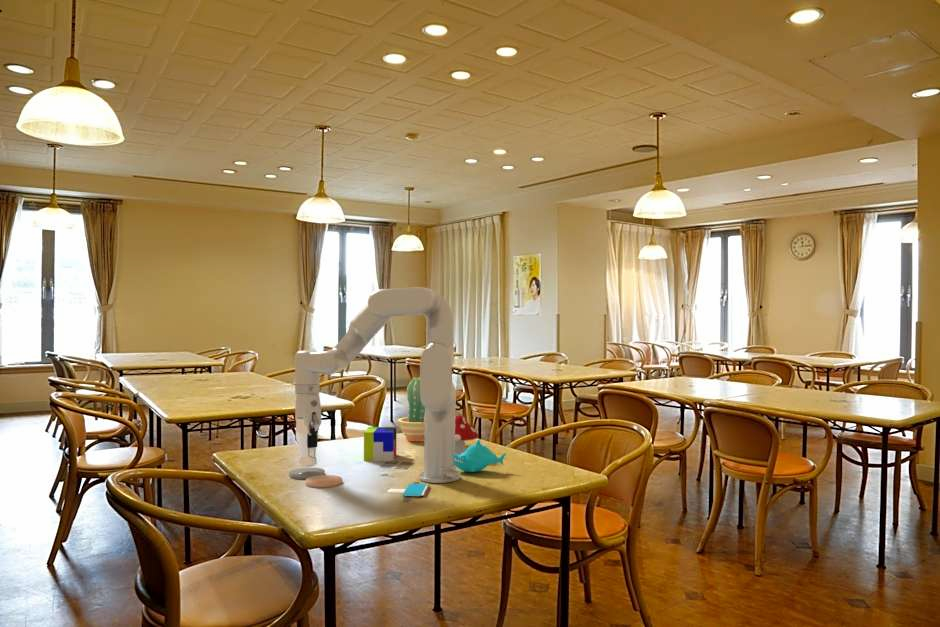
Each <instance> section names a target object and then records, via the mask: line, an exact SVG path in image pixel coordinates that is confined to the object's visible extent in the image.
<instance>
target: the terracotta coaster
mask: <svg viewBox="0 0 940 627" xmlns="http://www.w3.org/2000/svg"><path fill="white" fill-rule="evenodd" d="M304 480H305V481H304V485H305V486H306V487H308V488H316V489H318V488H319V489H325V488H333V487H337V486H340V485H342V484H343V477H342V476H339V475H333V474H325V475H319V476H313V477H309V478H307V479H304Z"/></svg>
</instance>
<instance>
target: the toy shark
mask: <svg viewBox="0 0 940 627" xmlns="http://www.w3.org/2000/svg"><path fill="white" fill-rule="evenodd" d="M505 456H507V452H504V453H502V455H501V456H500V457H498V456H497V454H496V453H493V452H492V451H491V449H489V448H488V447H487V446H486V445H484V444H482V443H481V440H480V438H478V439H477V441H476V443H475V444H471V445H470V446H469V447H466V451H465V452H464V453H461V455H457V454H455V465H456V469H459V470H461V471H463V472H466V473H476V472H480V471H482V470H484V469H486V468H487V467H489V466H490V465H493V464H494V465H497V464H498V463H500V464H501V465H502V466H503V465H505V464H504V458H505Z"/></svg>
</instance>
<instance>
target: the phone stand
mask: <svg viewBox="0 0 940 627" xmlns="http://www.w3.org/2000/svg"><path fill="white" fill-rule="evenodd" d="M429 488H430V483H428V484H427V483H420V481H414V482H413V483H409V484H408V485H407V487H406V488H389V489H388V490H387V492H386V493H387V494H401V496H404V498H402V502H409V501H410V499H414V498H416V497H422V496H423V497H425V496H426V494H427V493H428V491H429Z"/></svg>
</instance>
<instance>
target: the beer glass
mask: <svg viewBox="0 0 940 627" xmlns="http://www.w3.org/2000/svg"><path fill="white" fill-rule="evenodd" d="M310 425H314V423H313V422H311V423H310ZM310 428H311V430H312V428H313V427H310ZM307 435H309V434H308V429H307V426H305V424H304V419H299V418H298V417H297V421H296V420H295V438H296V445H297V451H298V458H297V466H298V467H300V468H310V467H314V466H316V465H317V464H318V460H317V456H316V455H317V454H316V453H317V452H316V451H317V447H314V448H308V447H307ZM318 437H319V434H318V435H317V441H318Z"/></svg>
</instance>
